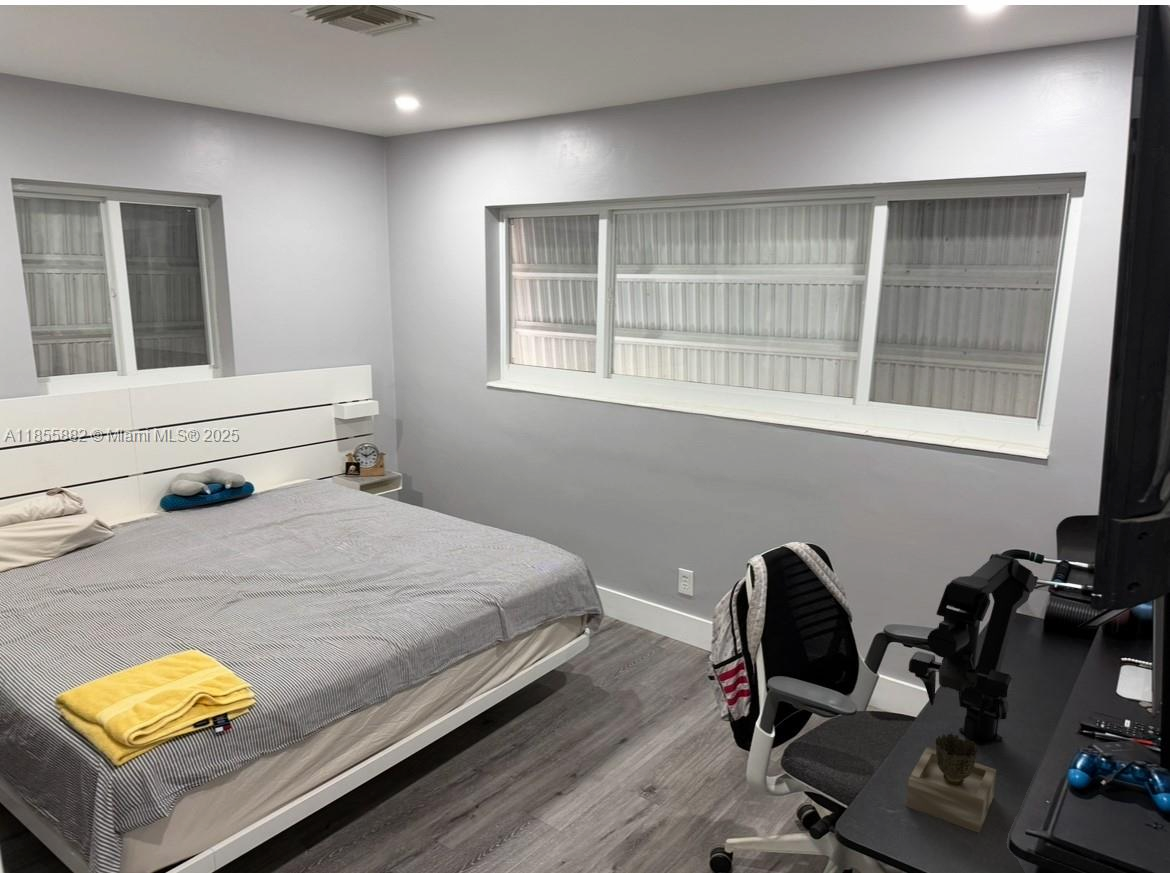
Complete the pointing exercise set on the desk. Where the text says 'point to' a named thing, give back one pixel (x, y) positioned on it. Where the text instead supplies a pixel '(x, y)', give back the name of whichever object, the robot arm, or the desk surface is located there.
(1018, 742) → the desk surface
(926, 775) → the wooden box
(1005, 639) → the robot arm
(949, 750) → the cup
